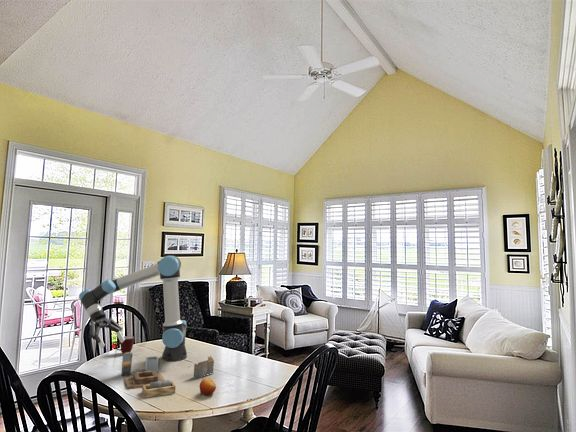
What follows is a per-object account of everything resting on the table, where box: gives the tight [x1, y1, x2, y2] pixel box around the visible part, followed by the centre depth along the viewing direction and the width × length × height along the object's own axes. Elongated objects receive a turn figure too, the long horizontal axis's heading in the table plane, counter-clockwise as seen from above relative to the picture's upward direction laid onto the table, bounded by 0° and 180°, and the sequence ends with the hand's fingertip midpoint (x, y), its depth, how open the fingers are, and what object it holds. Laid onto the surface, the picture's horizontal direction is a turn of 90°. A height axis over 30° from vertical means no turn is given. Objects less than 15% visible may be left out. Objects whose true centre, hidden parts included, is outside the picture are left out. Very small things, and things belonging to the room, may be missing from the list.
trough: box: [141, 379, 176, 398], centre depth 170 cm, size 14×7×5 cm, turn 119°
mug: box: [115, 335, 135, 355], centre depth 228 cm, size 11×8×10 cm
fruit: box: [199, 377, 217, 396], centre depth 172 cm, size 8×8×8 cm
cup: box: [144, 355, 159, 373], centre depth 199 cm, size 6×6×7 cm
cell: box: [120, 352, 133, 377], centre depth 192 cm, size 5×5×12 cm
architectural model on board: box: [193, 355, 215, 379], centre depth 196 cm, size 11×3×10 cm, turn 141°
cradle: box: [124, 370, 166, 390], centre depth 183 cm, size 18×14×4 cm
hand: (113, 344), depth 197 cm, fingers open, 13 cm apart
